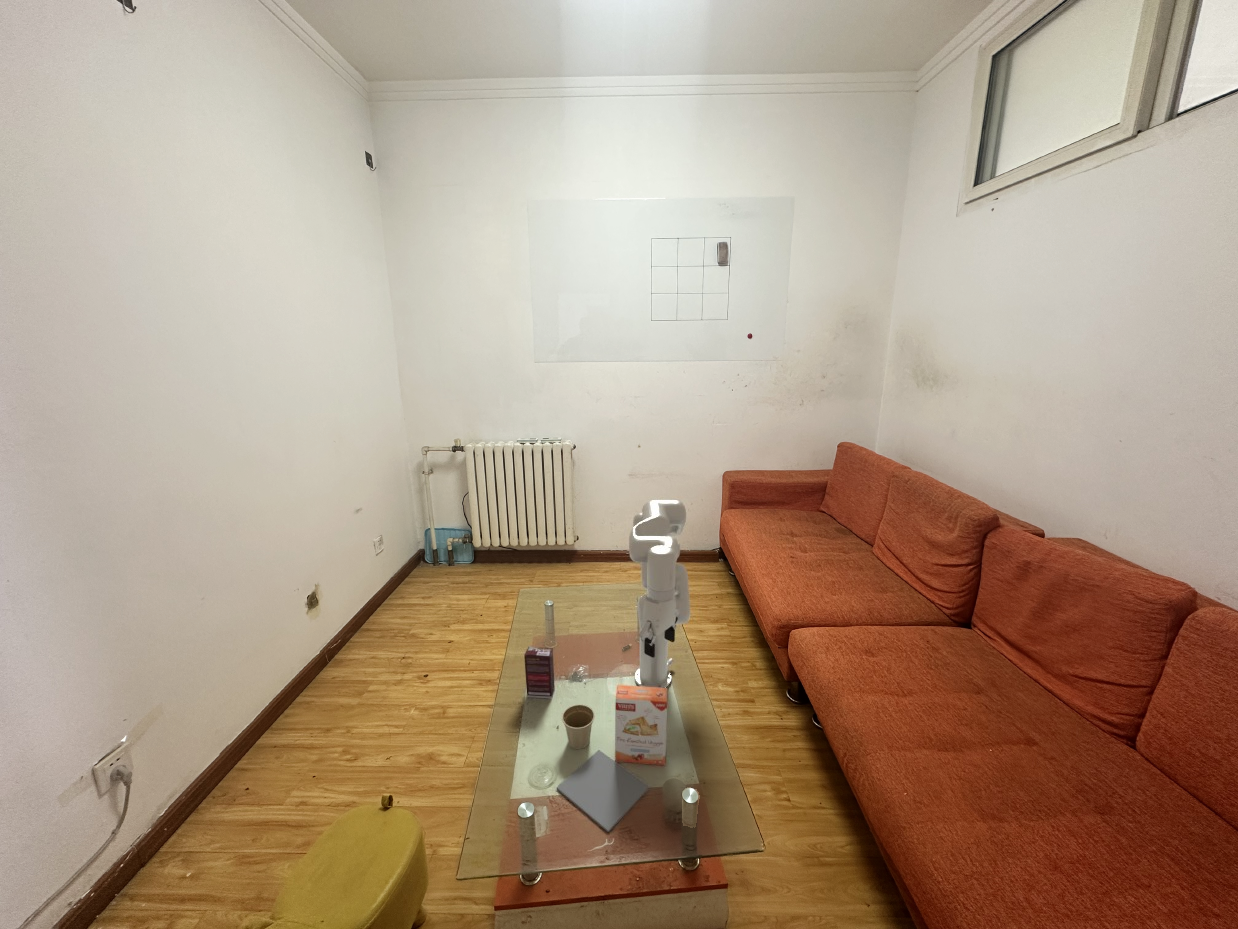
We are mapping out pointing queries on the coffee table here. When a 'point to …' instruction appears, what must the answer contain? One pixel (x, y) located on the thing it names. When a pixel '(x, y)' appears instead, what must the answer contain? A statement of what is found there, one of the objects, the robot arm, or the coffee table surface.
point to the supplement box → (539, 672)
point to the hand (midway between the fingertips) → (659, 647)
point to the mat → (603, 789)
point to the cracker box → (640, 724)
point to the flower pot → (578, 725)
